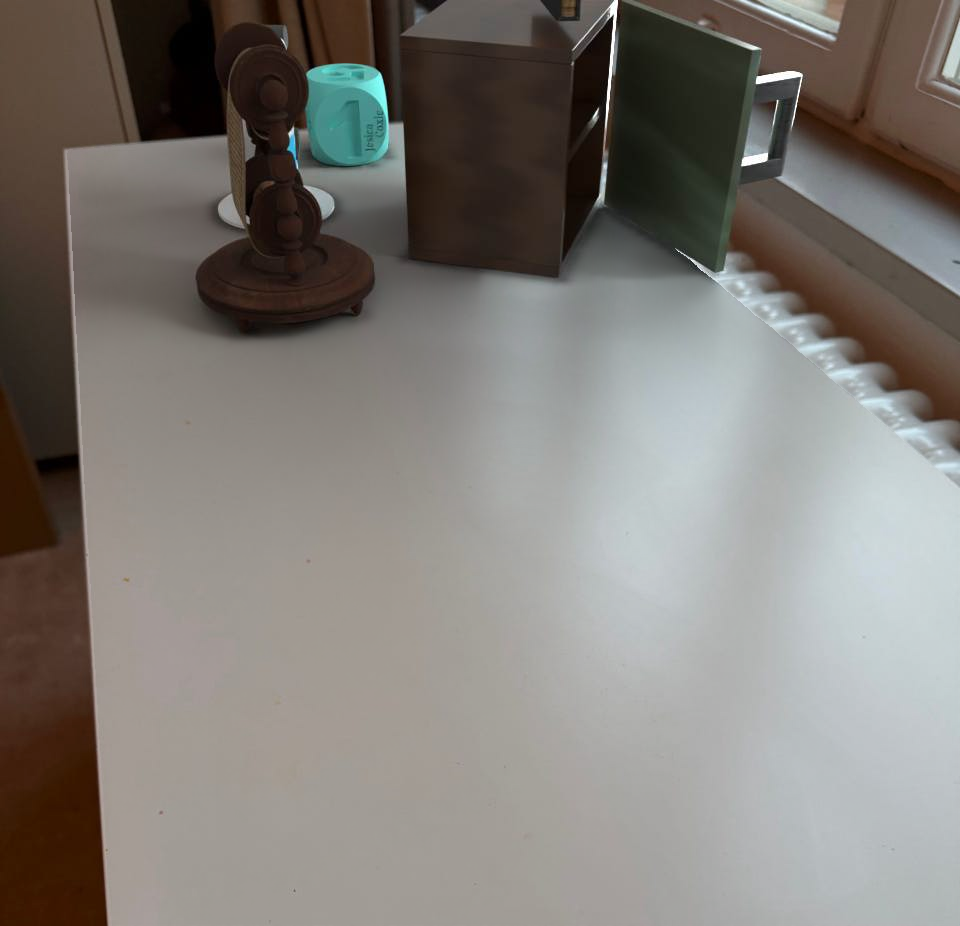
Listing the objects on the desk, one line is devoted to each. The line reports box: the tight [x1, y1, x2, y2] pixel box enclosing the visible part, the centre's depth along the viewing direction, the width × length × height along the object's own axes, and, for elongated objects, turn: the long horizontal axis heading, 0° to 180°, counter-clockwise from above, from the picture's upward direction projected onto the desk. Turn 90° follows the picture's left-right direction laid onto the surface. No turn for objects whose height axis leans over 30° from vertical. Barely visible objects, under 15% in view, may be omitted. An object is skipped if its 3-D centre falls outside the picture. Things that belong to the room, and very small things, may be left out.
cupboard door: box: [603, 0, 803, 274], centre depth 93 cm, size 8×18×18 cm, turn 28°
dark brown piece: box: [195, 21, 376, 334], centre depth 81 cm, size 15×15×20 cm
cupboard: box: [399, 0, 618, 279], centre depth 92 cm, size 14×18×18 cm
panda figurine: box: [217, 24, 335, 230], centre depth 97 cm, size 12×11×15 cm
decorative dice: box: [304, 63, 390, 167], centre depth 111 cm, size 8×8×8 cm
